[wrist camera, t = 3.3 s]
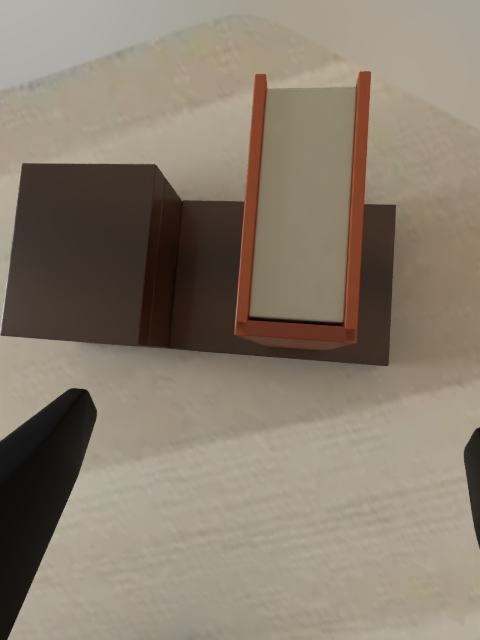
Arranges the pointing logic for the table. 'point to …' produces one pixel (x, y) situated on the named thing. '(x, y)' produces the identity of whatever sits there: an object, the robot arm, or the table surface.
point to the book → (303, 216)
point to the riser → (156, 266)
